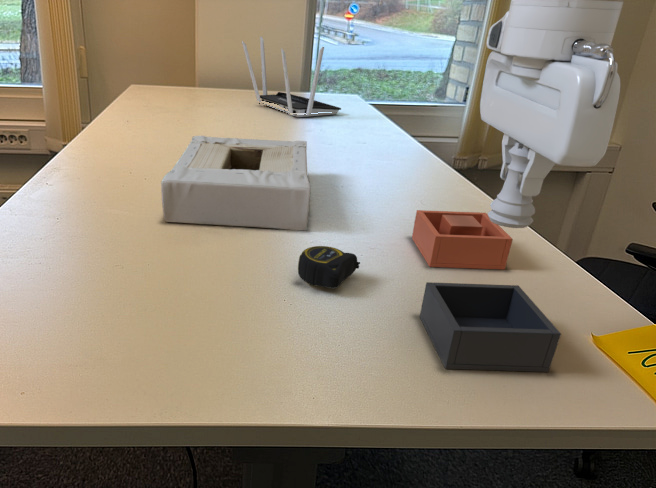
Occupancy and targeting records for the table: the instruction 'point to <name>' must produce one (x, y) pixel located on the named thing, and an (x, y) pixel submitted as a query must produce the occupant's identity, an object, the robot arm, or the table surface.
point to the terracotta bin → (461, 242)
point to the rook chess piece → (513, 194)
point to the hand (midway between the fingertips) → (518, 187)
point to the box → (239, 184)
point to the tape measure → (326, 266)
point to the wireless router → (286, 99)
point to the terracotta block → (460, 225)
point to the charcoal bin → (487, 327)
